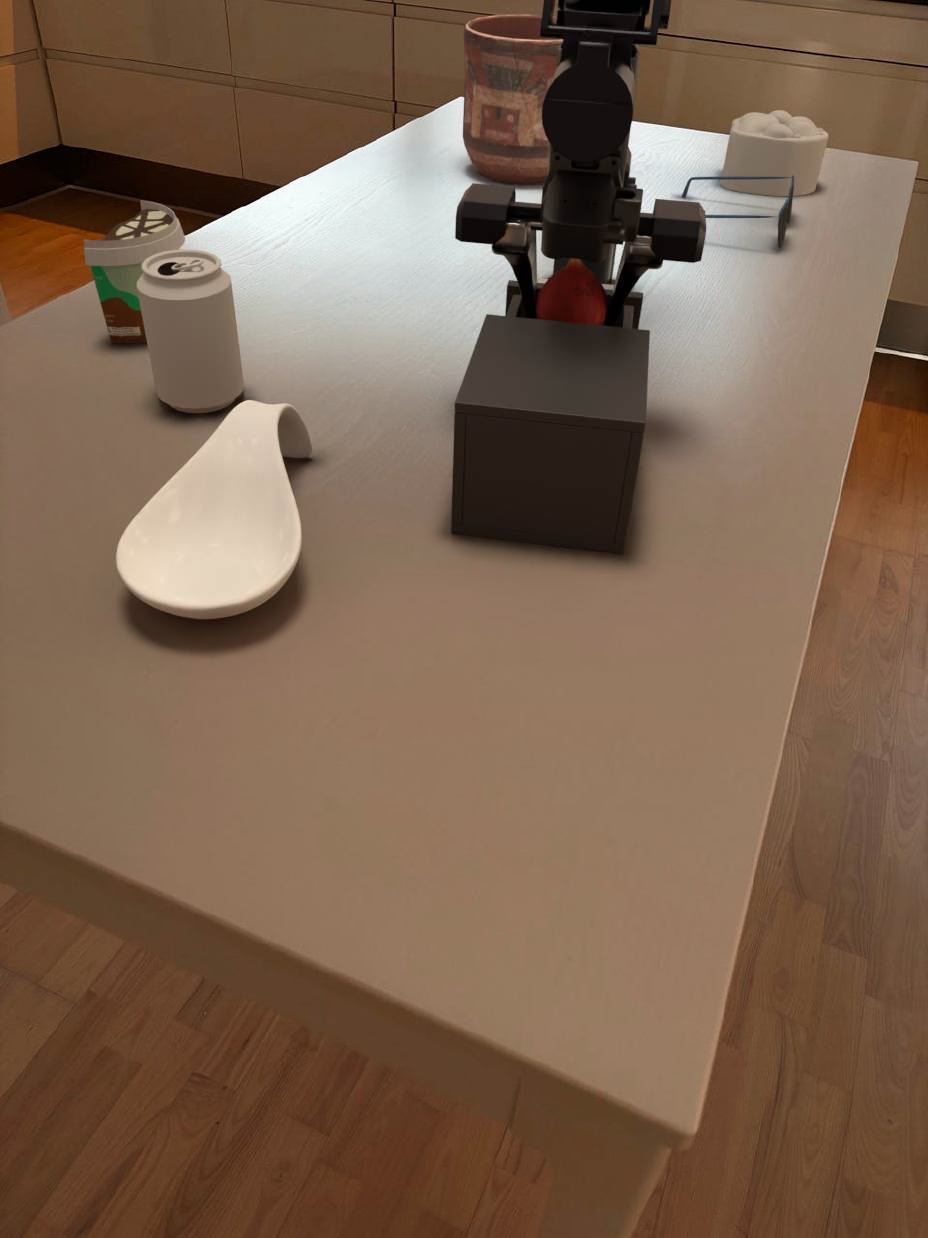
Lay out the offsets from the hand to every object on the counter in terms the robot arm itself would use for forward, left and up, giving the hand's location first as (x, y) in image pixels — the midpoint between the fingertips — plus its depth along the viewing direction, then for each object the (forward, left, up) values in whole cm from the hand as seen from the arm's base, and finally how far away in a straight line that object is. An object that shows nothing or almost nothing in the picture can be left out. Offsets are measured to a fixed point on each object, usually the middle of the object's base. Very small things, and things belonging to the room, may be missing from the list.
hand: (569, 327), depth 82 cm
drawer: (0, 0, -7) cm, 7 cm away
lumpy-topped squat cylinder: (-72, -25, -8) cm, 77 cm away
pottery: (-48, -50, -8) cm, 70 cm away
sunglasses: (-53, -19, -8) cm, 57 cm away
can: (+22, -22, -8) cm, 32 cm away
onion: (0, 0, -2) cm, 2 cm away
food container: (+17, -37, -8) cm, 42 cm away
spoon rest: (+31, -3, -8) cm, 32 cm away
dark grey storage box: (+10, +8, -8) cm, 15 cm away
